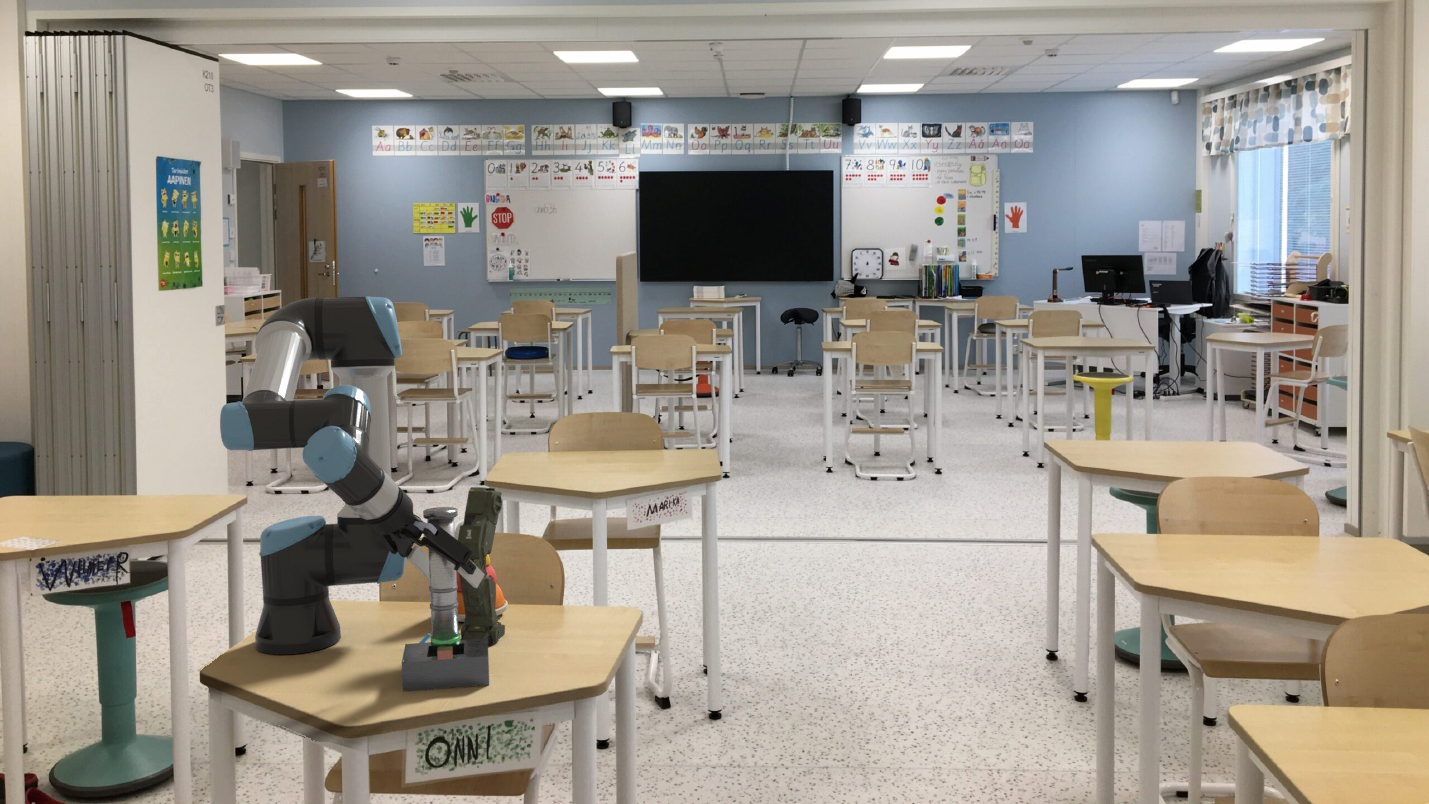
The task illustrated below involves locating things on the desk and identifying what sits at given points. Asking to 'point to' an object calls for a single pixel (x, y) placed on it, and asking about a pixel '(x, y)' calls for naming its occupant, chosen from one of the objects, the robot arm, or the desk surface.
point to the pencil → (426, 637)
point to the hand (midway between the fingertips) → (456, 576)
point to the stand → (445, 665)
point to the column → (443, 585)
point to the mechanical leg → (480, 565)
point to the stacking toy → (500, 601)
